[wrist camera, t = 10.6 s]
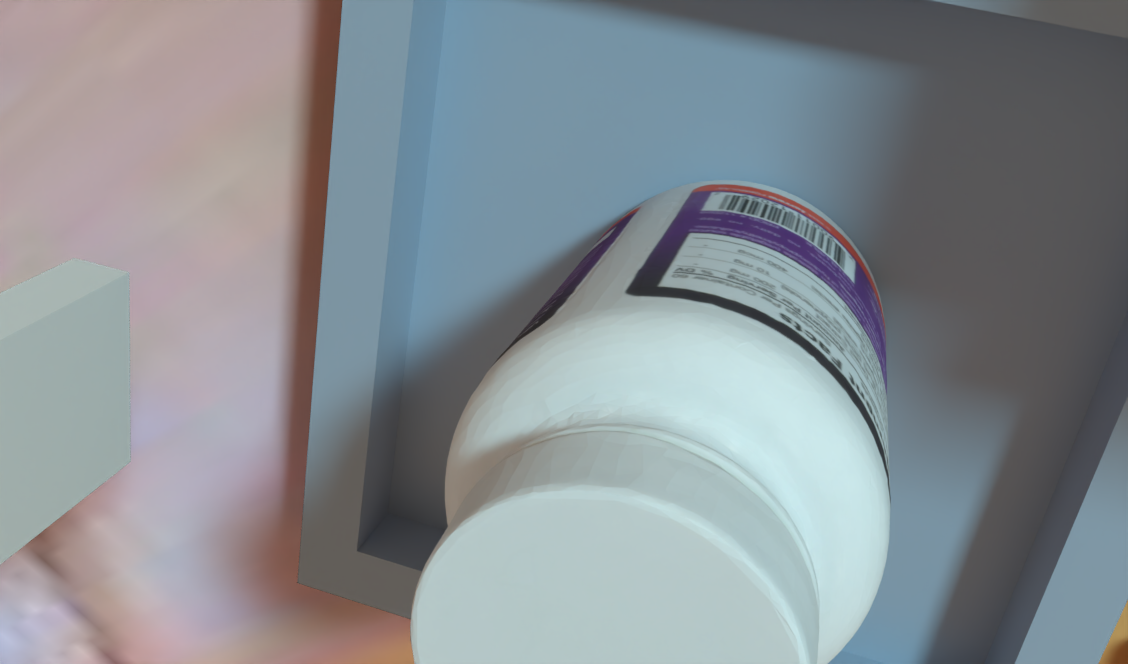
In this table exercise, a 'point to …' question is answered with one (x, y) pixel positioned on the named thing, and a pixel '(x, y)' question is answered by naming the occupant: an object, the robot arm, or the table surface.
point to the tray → (795, 165)
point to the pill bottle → (674, 451)
